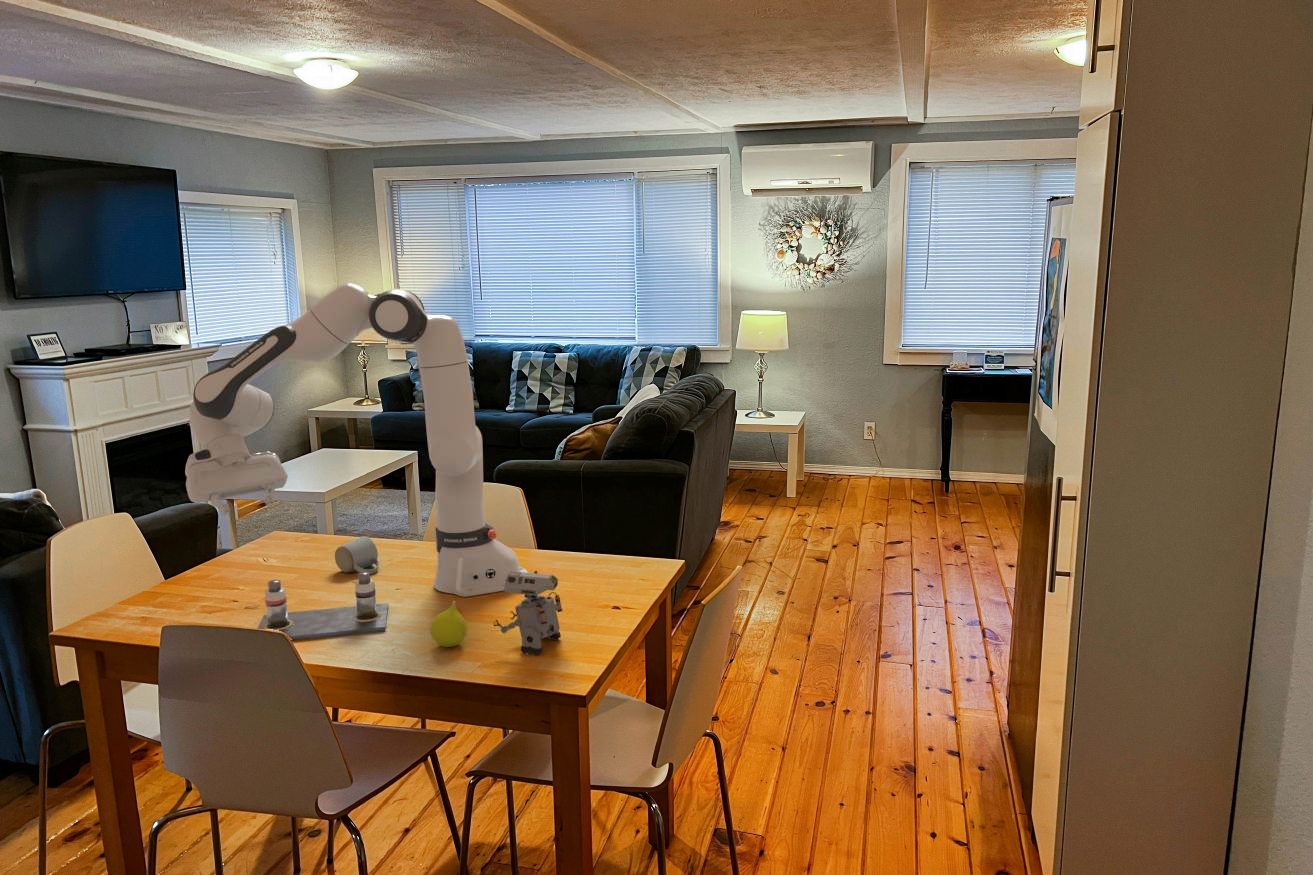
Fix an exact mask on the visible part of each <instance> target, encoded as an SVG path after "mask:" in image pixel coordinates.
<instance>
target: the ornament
mask: <svg viewBox="0 0 1313 875" xmlns="http://www.w3.org/2000/svg"><path fill="white" fill-rule="evenodd" d="M457 597H458V595H457V596H456V595H455V600H453V601H452V604H451V606H450V607H449V608H448V609H446V610H444V611H442V612H440V613H438V614H437V615H436V616H435V617H434V619H432V621H431V625H430V635H431V638H432V639H433V641H434V642H435V643H436V644H437V645H438V646H441V647H444V648H452V647H455V646H457V645H459V644H460V643H461V642H462V641H463V640H464V639H465V637H466V636H467V631H468V626H467V622H466V620H465V618H464V617H463V616H462V614H461V613H460V612H459V611H458V609H457V607H456V603H457V601H456V598H457Z"/></svg>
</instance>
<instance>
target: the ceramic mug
mask: <svg viewBox="0 0 1313 875" xmlns="http://www.w3.org/2000/svg"><path fill="white" fill-rule="evenodd" d="M378 556H379V553H378V549H377V546H376V544H375V542H374V540H372V539H371V538H370V537H368V536H363V535H362V536H360V537H358V538H356V539H353V540H351V541H348V542H346V543H343V544H341V545H340V546H339V547H337V548H336V550H335V551H334V561H335V564H336V566H337V567H338V569H339V570H340V571H341V572H344V573H345V574H346V573H347V574H348V573H354V572H358V574H359V573H361V572H370V575H374V574H375V573H377V572H378V571H379V567H380V563H379V561H378ZM374 565H375V567H374V568H372V569H367V568H369V567H371V566H374Z"/></svg>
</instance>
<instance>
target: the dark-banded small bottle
mask: <svg viewBox="0 0 1313 875" xmlns="http://www.w3.org/2000/svg"><path fill="white" fill-rule="evenodd" d="M357 579H358V580H357V581H355V582H354V588H355V601H356V602H355V603H356V606H357V616H358V618H359V619H371V618H374V617H376V616H377V608H376V604H377V599H376V598H377V597H376V584H375V580H374V579H371V574H370V572H361V573H359V572H358V573H357Z"/></svg>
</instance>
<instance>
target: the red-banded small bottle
mask: <svg viewBox="0 0 1313 875" xmlns="http://www.w3.org/2000/svg"><path fill="white" fill-rule="evenodd" d="M267 585H268V586H267V587H268V588H267V589H266V590H265V591H264V598H265V599H264V600H265V608H266V610H265V611H266V615H267V620H268V627H270V628H280V627H284V626H286V625H287V624H288V613H289V612H288V605H287V602H288V601H287V600H288V599H287V593H286V588H285V587H283V586H282V583H281V579H271V580H268V582H267Z"/></svg>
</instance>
